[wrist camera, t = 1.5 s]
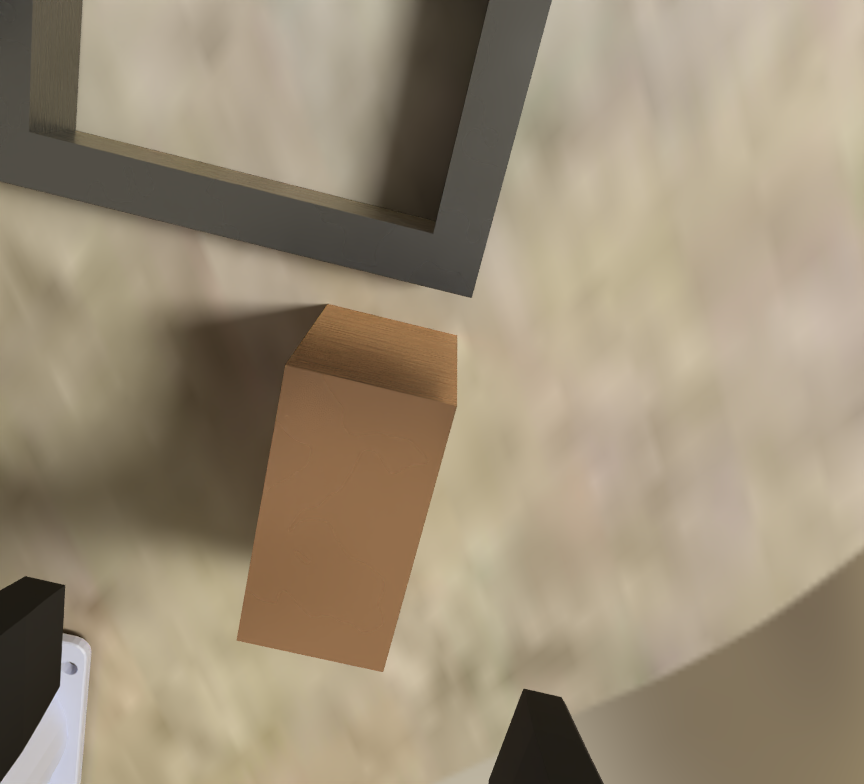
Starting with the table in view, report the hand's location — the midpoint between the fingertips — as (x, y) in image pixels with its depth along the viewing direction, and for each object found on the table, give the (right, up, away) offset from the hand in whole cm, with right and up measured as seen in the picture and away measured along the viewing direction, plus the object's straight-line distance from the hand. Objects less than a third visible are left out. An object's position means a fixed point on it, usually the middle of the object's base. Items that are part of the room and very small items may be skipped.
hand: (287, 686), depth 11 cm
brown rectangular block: (0, +3, +9) cm, 10 cm away
